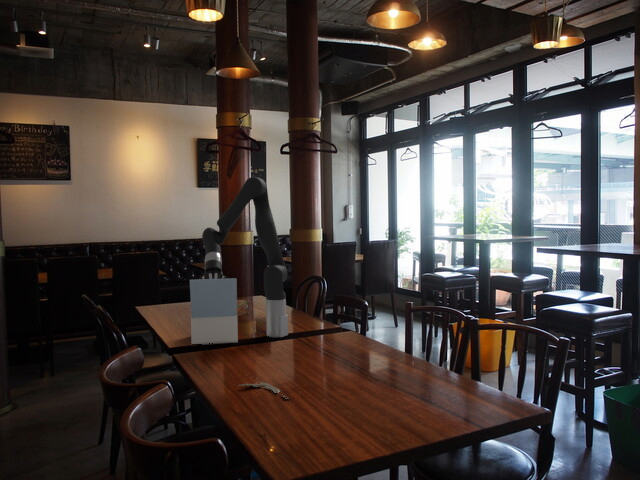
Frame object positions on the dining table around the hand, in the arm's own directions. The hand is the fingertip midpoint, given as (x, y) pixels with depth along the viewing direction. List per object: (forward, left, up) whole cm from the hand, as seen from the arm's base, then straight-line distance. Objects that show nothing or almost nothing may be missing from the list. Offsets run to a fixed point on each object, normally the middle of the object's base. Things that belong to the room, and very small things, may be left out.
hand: (213, 295), depth 218 cm
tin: (+35, -58, -22) cm, 71 cm away
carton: (+8, -9, -22) cm, 25 cm away
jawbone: (-55, +38, -23) cm, 70 cm away
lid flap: (0, 0, -1) cm, 1 cm away
